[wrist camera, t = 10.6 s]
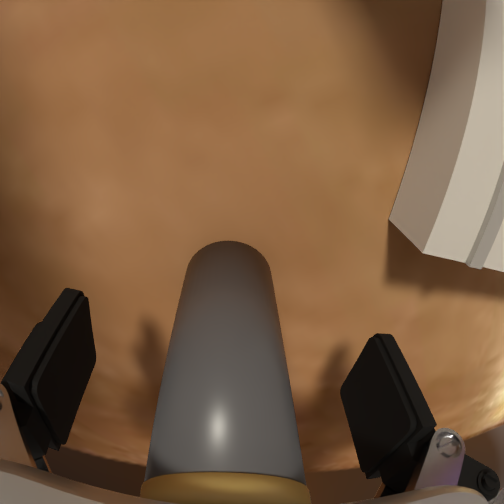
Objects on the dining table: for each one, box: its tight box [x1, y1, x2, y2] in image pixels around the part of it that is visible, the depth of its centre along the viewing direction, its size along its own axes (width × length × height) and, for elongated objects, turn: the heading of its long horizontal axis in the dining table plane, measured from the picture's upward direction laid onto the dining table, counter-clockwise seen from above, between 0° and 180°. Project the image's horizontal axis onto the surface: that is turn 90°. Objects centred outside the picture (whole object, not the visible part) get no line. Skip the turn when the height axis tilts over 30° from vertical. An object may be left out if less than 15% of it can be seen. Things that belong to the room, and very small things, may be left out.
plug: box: [140, 241, 311, 504], centre depth 9 cm, size 4×4×10 cm
